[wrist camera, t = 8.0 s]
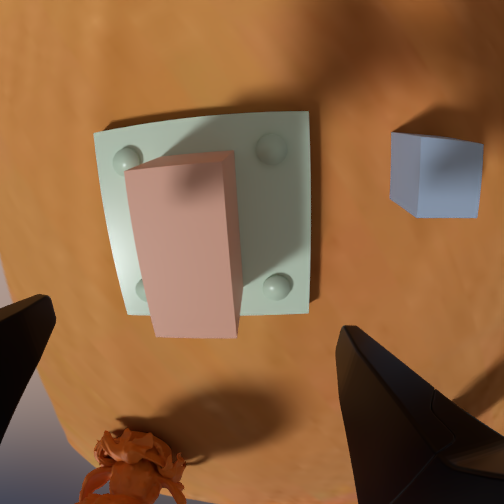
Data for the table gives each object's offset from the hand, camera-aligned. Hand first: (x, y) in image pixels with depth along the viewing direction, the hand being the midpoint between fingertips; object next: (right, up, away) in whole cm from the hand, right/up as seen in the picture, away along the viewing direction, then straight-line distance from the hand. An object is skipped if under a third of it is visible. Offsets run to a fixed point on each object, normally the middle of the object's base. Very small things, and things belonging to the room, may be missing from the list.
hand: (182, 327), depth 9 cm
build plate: (-1, +4, +10) cm, 11 cm away
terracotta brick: (-1, +4, +9) cm, 10 cm away
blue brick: (+12, +7, +8) cm, 16 cm away
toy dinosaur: (-9, -18, +20) cm, 29 cm away
